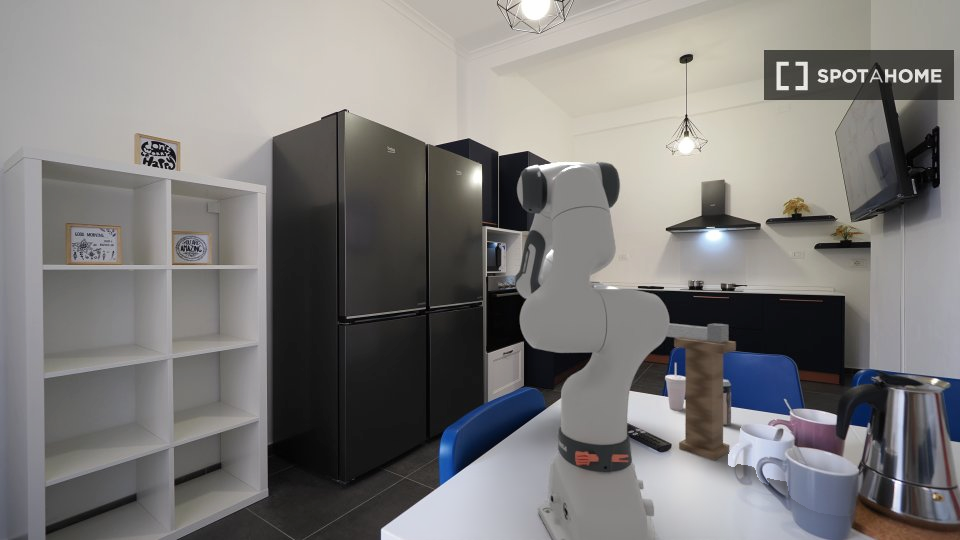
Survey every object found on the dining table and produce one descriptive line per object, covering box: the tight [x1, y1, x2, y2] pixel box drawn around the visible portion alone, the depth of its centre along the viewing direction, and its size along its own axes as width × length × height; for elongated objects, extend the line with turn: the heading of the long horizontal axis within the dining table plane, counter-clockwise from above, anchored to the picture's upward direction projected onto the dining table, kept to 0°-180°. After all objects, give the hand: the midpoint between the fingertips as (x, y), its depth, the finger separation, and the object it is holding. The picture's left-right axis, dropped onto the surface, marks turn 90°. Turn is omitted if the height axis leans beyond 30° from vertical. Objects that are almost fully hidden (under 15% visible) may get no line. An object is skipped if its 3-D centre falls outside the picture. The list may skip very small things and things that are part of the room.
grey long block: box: [666, 322, 730, 344], centre depth 101 cm, size 18×4×4 cm, turn 39°
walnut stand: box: [673, 337, 737, 462], centre depth 97 cm, size 11×8×26 cm
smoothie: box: [664, 362, 686, 412], centre depth 127 cm, size 6×6×14 cm
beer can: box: [723, 378, 732, 426], centre depth 115 cm, size 5×5×12 cm
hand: (617, 305), depth 110 cm, fingers open, 8 cm apart
